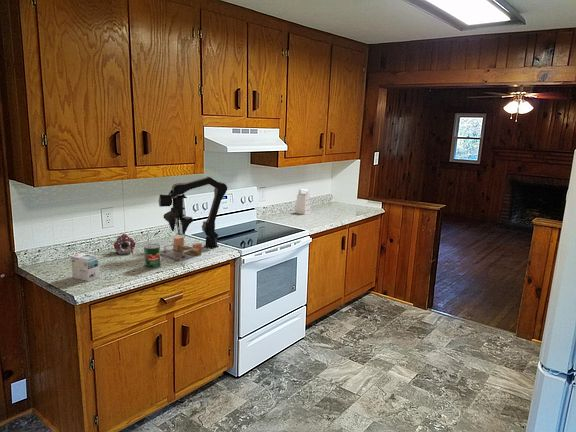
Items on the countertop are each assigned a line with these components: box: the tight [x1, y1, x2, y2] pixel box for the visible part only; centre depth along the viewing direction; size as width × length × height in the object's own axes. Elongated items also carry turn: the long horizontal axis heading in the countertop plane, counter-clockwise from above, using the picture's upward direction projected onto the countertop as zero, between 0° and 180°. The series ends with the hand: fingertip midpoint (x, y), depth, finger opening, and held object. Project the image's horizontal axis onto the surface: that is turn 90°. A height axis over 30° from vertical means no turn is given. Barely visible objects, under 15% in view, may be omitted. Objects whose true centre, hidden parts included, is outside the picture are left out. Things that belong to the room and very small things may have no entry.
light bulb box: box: [70, 252, 101, 282], centre depth 204 cm, size 11×7×11 cm, turn 66°
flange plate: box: [160, 248, 192, 262], centre depth 242 cm, size 8×20×1 cm, turn 55°
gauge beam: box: [172, 242, 203, 257], centre depth 247 cm, size 13×20×6 cm, turn 55°
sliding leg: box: [163, 236, 185, 251], centre depth 250 cm, size 13×3×7 cm, turn 145°
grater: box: [294, 188, 312, 215], centre depth 373 cm, size 10×10×20 cm
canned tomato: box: [143, 243, 162, 270], centre depth 223 cm, size 8×8×11 cm
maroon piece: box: [113, 233, 136, 256], centre depth 245 cm, size 11×11×12 cm
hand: (178, 232), depth 252 cm, fingers open, 9 cm apart
